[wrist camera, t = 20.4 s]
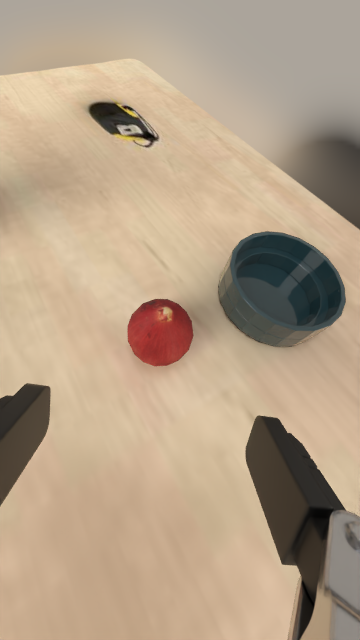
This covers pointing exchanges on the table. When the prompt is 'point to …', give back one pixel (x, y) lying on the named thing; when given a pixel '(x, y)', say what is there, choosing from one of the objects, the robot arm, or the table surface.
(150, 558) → the table surface
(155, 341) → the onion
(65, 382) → the table surface
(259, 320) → the bowl
